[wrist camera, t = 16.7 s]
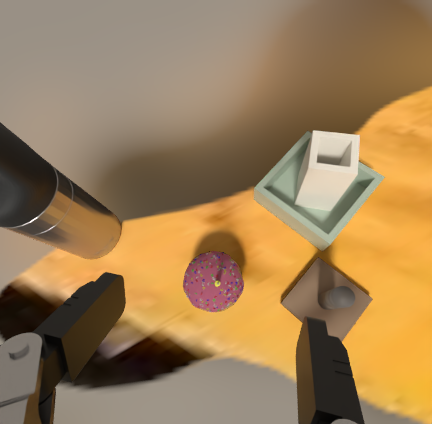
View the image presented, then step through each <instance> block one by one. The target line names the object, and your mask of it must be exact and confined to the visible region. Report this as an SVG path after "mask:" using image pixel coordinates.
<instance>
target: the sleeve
mask: <svg viewBox="0 0 432 424" xmlns="http://www.w3.org/2000/svg"><path fill="white" fill-rule="evenodd" d="M359 142H360V135H352V134H343V133H334V132H324V131H314V130H313V132H312V135H311V138H310V141H309V144H308V147H307V150H306V153H305V156H304V159H303V162H302V165H301V168H300V171H299V174H298V180H297V187H296V195H295V202H294V205H295V206H301V207H307V208H314V209H320V210H326V211H331V210H332V209H333V207H334V206H335V205H336V203H337V202H338V200H339V199H340V198H341V196H342V195H343V194H344V192H345V191H346V190H347V188H348V187H349V186H350V184H351V183H352V182H353V180H354V179H355V177H356V176H357V175H358V160H359Z"/></svg>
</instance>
